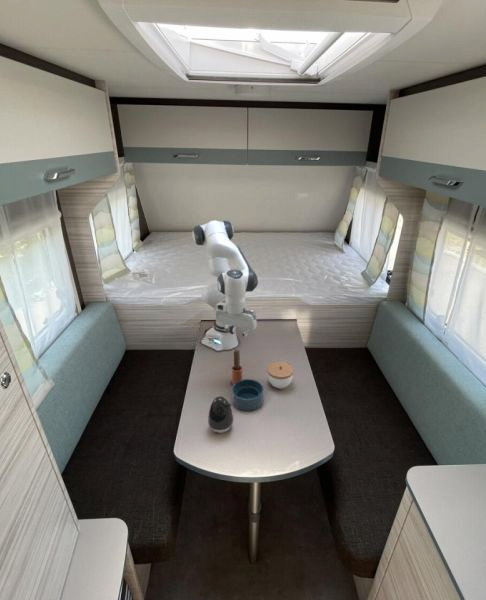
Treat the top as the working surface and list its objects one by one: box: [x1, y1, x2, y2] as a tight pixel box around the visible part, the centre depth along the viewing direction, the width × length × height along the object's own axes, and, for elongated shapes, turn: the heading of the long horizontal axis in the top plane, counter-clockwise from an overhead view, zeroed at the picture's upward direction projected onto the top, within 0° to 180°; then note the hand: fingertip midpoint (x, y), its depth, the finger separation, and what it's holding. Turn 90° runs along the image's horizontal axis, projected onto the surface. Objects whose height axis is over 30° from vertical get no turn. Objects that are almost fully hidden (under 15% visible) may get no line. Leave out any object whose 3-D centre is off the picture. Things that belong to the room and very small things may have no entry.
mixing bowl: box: [231, 378, 265, 412], centre depth 148 cm, size 14×14×7 cm
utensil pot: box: [231, 364, 244, 386], centre depth 159 cm, size 5×5×9 cm
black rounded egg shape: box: [207, 395, 234, 434], centre depth 132 cm, size 10×10×15 cm
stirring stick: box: [233, 349, 241, 370], centre depth 157 cm, size 2×2×18 cm
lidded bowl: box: [267, 361, 294, 390], centre depth 158 cm, size 13×13×11 cm
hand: (236, 333), depth 150 cm, fingers open, 8 cm apart
